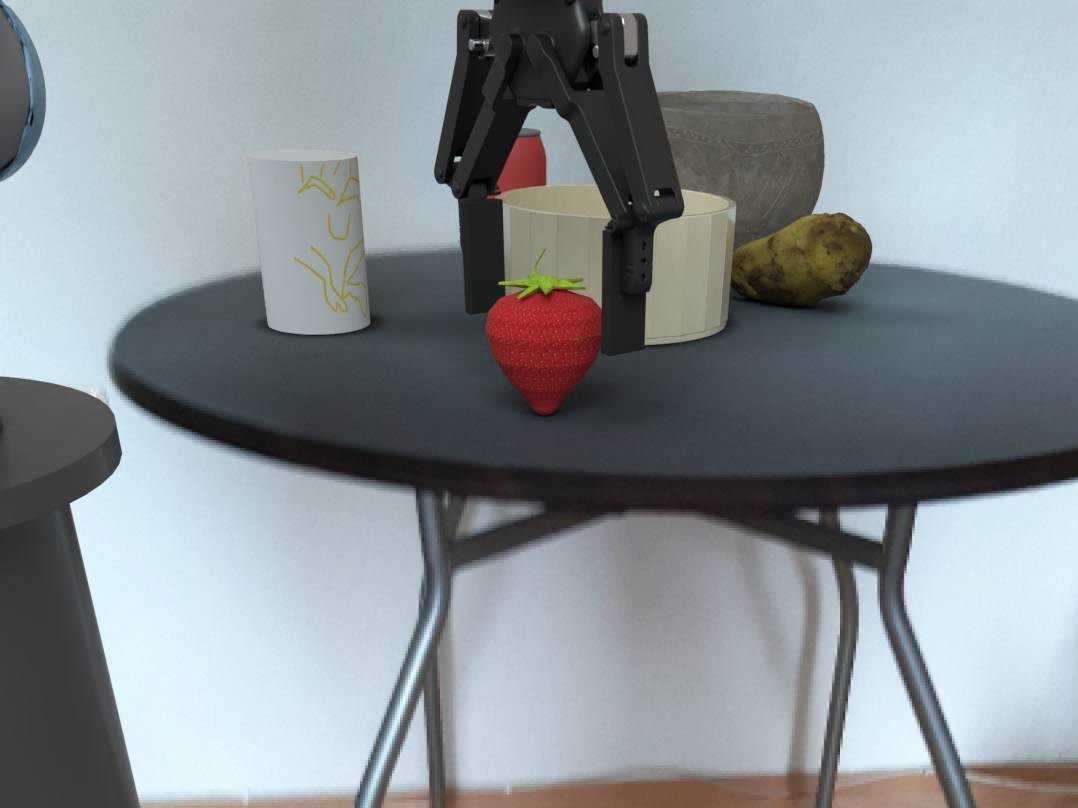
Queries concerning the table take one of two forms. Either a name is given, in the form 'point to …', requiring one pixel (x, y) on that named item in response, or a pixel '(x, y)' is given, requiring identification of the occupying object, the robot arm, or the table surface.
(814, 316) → the table surface
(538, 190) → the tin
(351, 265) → the cup
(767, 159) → the bowl
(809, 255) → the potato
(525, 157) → the beer can
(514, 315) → the strawberry
